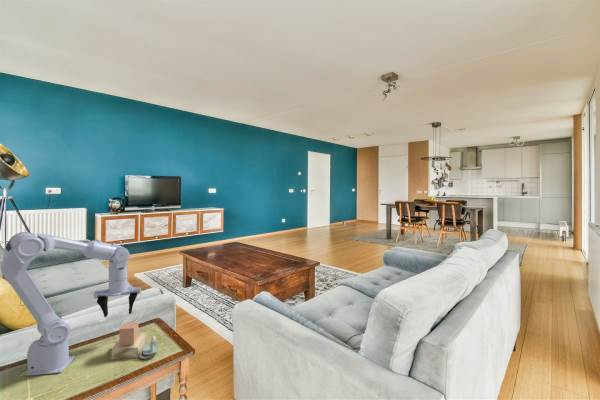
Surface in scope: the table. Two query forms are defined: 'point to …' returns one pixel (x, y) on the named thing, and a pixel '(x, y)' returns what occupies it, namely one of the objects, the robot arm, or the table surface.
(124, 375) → the table surface
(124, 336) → the terracotta block
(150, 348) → the pacifier
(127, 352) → the birch block
